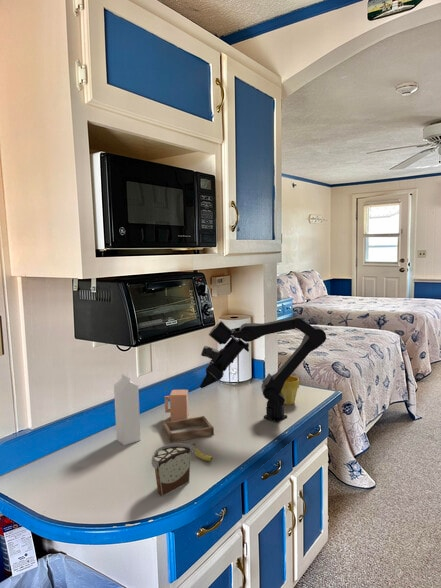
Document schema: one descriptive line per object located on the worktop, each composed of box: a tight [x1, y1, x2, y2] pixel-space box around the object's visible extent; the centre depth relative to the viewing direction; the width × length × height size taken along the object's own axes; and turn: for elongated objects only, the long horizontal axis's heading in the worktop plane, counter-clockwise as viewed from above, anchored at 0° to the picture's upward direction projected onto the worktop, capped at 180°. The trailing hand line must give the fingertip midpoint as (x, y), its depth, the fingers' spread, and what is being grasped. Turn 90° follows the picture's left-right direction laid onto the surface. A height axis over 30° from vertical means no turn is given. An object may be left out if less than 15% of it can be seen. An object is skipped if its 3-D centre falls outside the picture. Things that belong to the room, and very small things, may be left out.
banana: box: [192, 443, 213, 462], centre depth 131 cm, size 8×2×4 cm, turn 47°
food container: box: [151, 443, 193, 498], centre depth 117 cm, size 12×6×10 cm, turn 136°
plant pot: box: [281, 375, 300, 406], centre depth 178 cm, size 10×10×10 cm
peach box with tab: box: [164, 389, 190, 421], centre depth 163 cm, size 8×6×10 cm
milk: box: [113, 373, 142, 446], centre depth 144 cm, size 6×6×22 cm
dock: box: [162, 415, 215, 443], centre depth 151 cm, size 15×11×2 cm
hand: (202, 384), depth 160 cm, fingers open, 9 cm apart
